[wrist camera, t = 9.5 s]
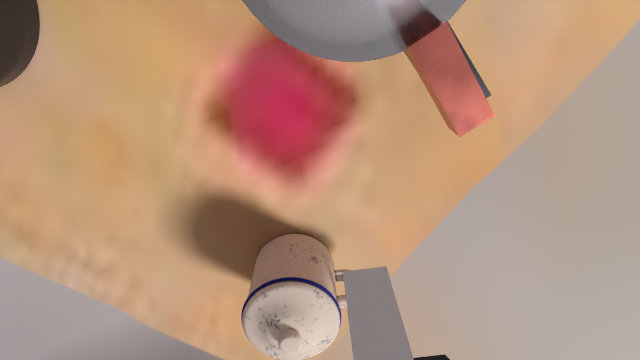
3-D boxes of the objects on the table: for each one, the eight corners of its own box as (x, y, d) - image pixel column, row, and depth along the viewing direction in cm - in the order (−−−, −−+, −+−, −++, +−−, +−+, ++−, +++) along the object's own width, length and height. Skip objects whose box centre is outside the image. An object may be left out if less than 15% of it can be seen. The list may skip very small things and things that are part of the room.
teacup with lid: (262, 304, 47) (247, 391, 36) (245, 236, 43) (224, 309, 33) (365, 290, 46) (382, 374, 36) (357, 221, 43) (373, 290, 32)
